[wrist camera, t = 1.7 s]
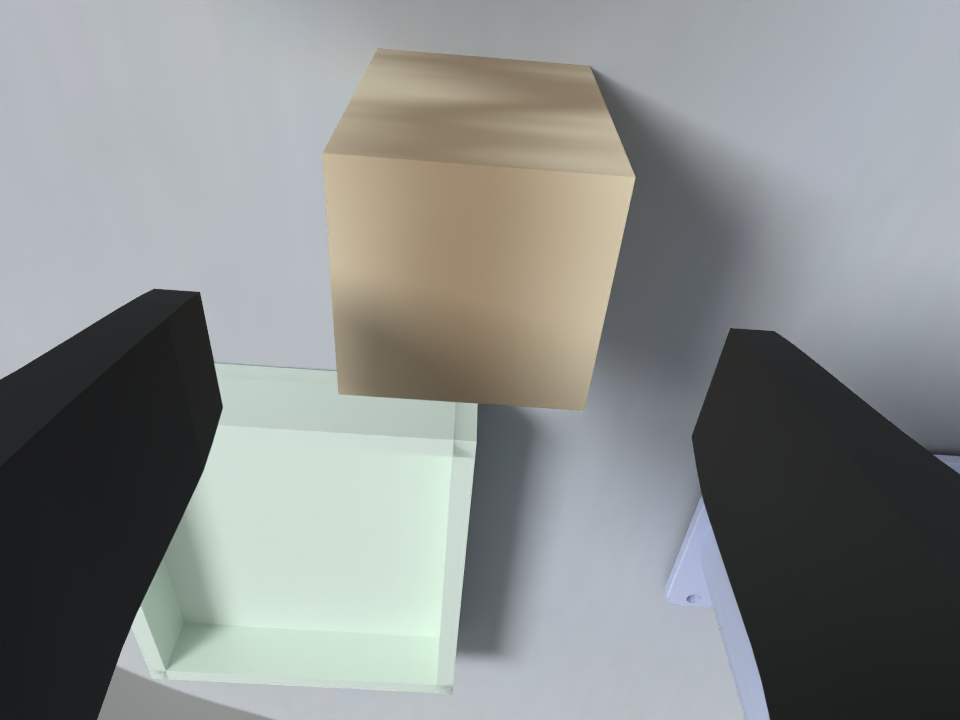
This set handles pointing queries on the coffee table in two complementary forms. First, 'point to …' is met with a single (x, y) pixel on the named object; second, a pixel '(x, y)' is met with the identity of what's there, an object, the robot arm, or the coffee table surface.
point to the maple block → (473, 229)
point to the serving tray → (318, 541)
